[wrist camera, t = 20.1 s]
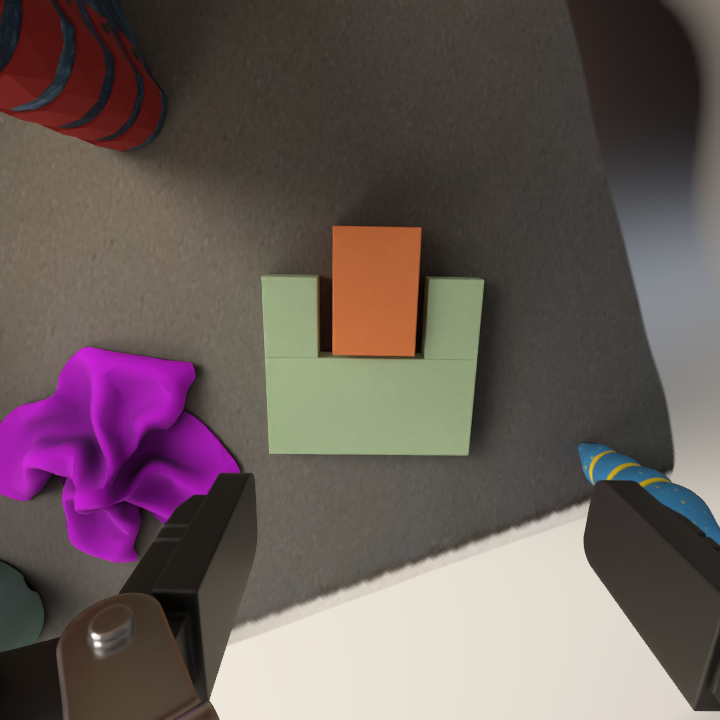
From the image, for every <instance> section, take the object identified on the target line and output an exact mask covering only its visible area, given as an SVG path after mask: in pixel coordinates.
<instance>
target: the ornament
mask: <svg viewBox="0 0 720 720" xmlns="http://www.w3.org/2000/svg"><path fill="white" fill-rule="evenodd" d="M578 449H579V453H580V458H581V464H582V468H583V471H584V474H585V475H586V477H587V479H588V480H589V481H590V482H591V484H592V485H595V483H596V482H597V481H599V480H632V481H635V482H637V483H639V484H640V485H641V486H642V487H643V488H644V489H646V490H647V491H648V492H649V493H650V494H651V495H652V496H654V497H655V498H656V499H657V500H658V501H659V502H660V503H662V504H664V505H666V506H667V507H669V508H671V509H673V510H675V511H677V512H678V513H680V514H682V515H684V516H686V517H687V518H688V519H689V520H691V521H692V522H693V523H694V524H695V525H697V526H698V527H699V528H700V529H701V530H702V531H704V532H705V533H706V536H707V537H711V538H712V539H713V540H714V541H715V542H717V543H718V544H719V545H720V527H719V526H718V524H717V522H716V521H715V519H714V516H713V515H712V513H711V511H710V509H709V508H708V506H707V505H706V503H705V502H704V501H703V500H702V499H701V498H700V497H699V496H698V495H696V494H695V493H694V492H692V491H691V490H689V489H687V488H685V487H683V486H680V485H677V484H674V483H672V482H671V480H670V479H669V478H667V477H666V476H665V475H664V474H662V473H660V472H658V471H656V470H654V469H650V468H646V467H642V466H641V465H640V464H639V463H638V462H637V461H636V460H634V459H633V458H631V457H628V456H626V455H623V454H620V453H617V452H615V451H614V450H613V449H612V448H610V447H608V446H606V445H603V444H588V443H581V444H580V445H579V446H578Z"/></svg>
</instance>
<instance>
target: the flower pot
mask: <svg viewBox="0 0 720 720" xmlns="http://www.w3.org/2000/svg"><path fill="white" fill-rule="evenodd" d="M43 624H44V608H43V604H42V601H41V598H40V596H39V594H38V593H37V592H35V591H31V590H30V589H29V588H28V587H27V585H26V583H25V581H24V577H23V575H22V574H21V573H20V572H18V571H17V570H15V569H14V568H12V567H11V566H9V565H7V564H5V563H3V562H1V561H0V652H4V651H8V650H12V649H16V648H20V647H24V646H28V645H32V644H34V643H35V642H36V641H37V639H38V637H39V635H40V633H41V631H42V628H43Z"/></svg>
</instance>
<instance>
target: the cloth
mask: <svg viewBox="0 0 720 720" xmlns="http://www.w3.org/2000/svg"><path fill="white" fill-rule="evenodd" d="M195 378H196V375H195V370H194V368H193V365H192V364H191V363H190V362H182V361H173V360H165V359H158V358H152V357H146V356H140V355H132V354H125V353H119V352H113V351H108V350H103V349H98V348H92V347H85V348H82V349H80V350H79V351H78V352H77V353H76V354H75V355H74V356H73V357H72V358H70V359H69V361H68V362H67V363H66V365H65V366H64V368H63V369H62V372H61V374H60V376H59V380H58V388H57V391H56V392H55V394H54V395H53V396H51V397H49V398H47V399H45V400H42V401H38V402H35V403H29V404H25V405H21V406H20V407H18V408H16V409H14V410H13V411H12V412H11V413H10V414H9V415H8V416H7V417H6V418H5V419H4V420H3V421H2V422H1V424H0V494H1V495H4V496H7V497H10V498H12V499H15V500H18V501H28V500H30V499H31V498H32V497H33V496H34V495H35V494H37V493H38V492H39V491H41V490H42V489H43V488H44V487H45V485H46V483H47V481H48V480H49V479H50V478H51V477H52V476H53V474H56V475H57V477H58V480H59V481H60V482H61V483H62V484H63V485H64V488H63V492H62V504H63V507H64V511H65V514H66V519H67V520H66V527H67V529H68V536H69V540H70V542H71V543H72V545H73V546H74V547H76V548H77V549H79V550H80V551H82V552H85V553H87V554H90V555H92V556H95V557H98V558H101V559H104V560H108V561H111V562H115V563H119V562H134V561H136V560H137V554H136V552H135V550H134V547H133V544H134V542H135V539H136V536H137V533H138V531H139V528H140V524H141V520H142V519H141V514H140V510H139V507H141V508H144V509H147V510H149V511H150V512H151V513H152V514H153V515H154V516H155V517H156V518H157V519H158V520H159V521H161V522H162V523H163V524H165V523H166V522H167V520H168V519H169V517H170V516H171V514H172V513H173V511H174V510H175V508H176V507H178V506H179V505H181V504H182V503H183V502H185V501H186V500H187V499H189V498H190V497H191V496H193V495H194V494H202V495H207V493H208V492H209V490H210V488H211V486H212V485H213V483H214V481H215V480H216V478H217V476H218V475H219V474H220V473H239V472H240V471H239V467H238V466H237V464H236V462H235V461H234V459H233V458H232V456H231V455H230V454H229V452H228V451H227V450H226V448H225V447H224V446H223V444H222V443H221V442H220V440H219V439H218V438H217V437H216V436H215V435H214V434H213V433H212V432H211V431H210V430H209V429H208V428H207V427H206V426H205V425H204V424H203V423H202V422H201V421H200V420H198V419H197V418H196V417H195V416H193V415H191V414H190V413H188V412H186V411H184V410H183V409H184V405H185V400H186V395H187V391H188V389H189V387H190V385H191V384H192V383H193V381H194V380H195Z"/></svg>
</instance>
